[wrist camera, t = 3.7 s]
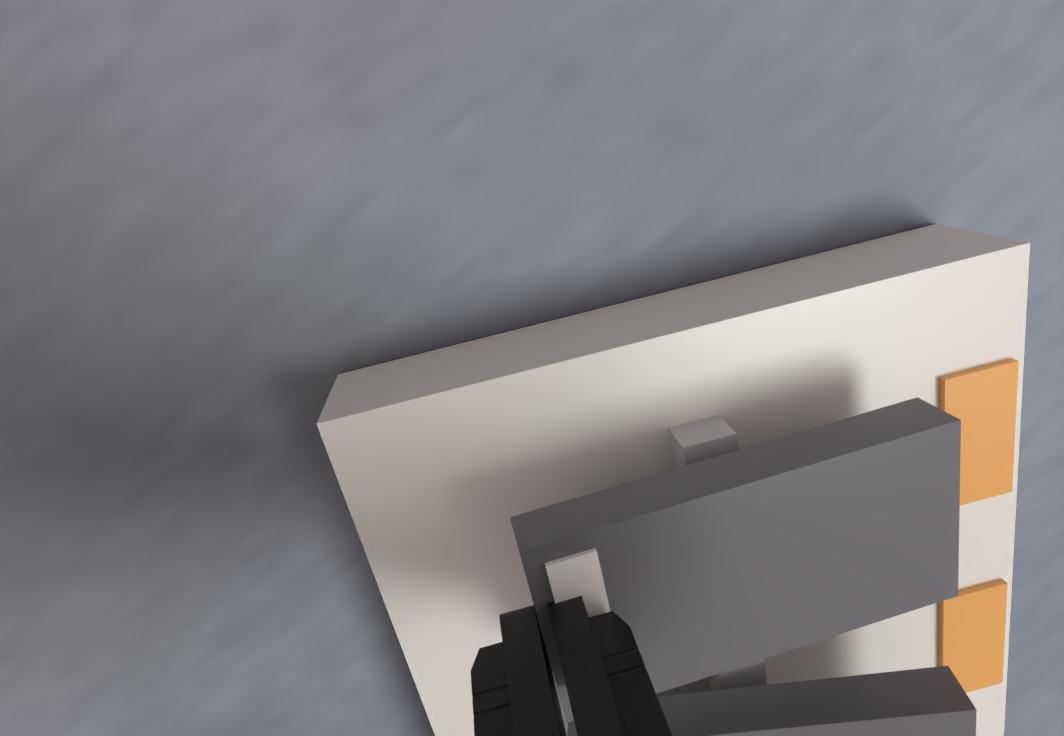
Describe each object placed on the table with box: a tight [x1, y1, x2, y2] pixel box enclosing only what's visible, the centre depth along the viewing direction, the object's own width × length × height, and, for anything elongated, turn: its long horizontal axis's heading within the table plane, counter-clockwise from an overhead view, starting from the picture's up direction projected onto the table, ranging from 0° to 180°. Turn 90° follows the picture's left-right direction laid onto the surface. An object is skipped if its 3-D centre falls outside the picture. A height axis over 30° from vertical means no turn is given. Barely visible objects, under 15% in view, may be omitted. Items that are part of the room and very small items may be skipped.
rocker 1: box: [510, 397, 961, 723], centre depth 14 cm, size 4×9×1 cm, turn 103°
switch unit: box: [317, 224, 1030, 736], centre depth 19 cm, size 22×16×4 cm
